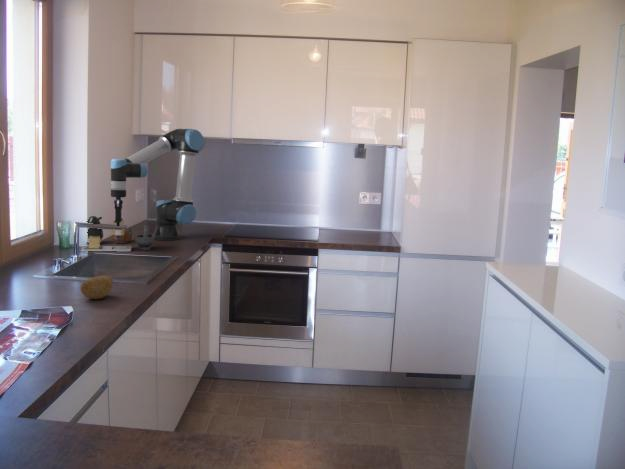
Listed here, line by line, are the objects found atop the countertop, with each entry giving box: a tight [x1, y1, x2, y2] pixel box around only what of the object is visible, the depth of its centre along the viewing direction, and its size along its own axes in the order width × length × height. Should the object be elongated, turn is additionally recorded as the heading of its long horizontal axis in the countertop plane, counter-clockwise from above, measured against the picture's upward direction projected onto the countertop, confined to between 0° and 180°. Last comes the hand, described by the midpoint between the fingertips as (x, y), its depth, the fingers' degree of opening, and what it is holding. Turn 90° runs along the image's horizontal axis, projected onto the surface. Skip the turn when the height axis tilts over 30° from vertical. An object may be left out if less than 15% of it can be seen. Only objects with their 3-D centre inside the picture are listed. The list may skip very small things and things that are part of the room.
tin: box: [113, 227, 133, 245], centre depth 311 cm, size 15×3×8 cm, turn 168°
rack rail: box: [80, 245, 132, 253], centre depth 289 cm, size 24×9×1 cm, turn 106°
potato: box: [80, 274, 114, 300], centre depth 202 cm, size 10×14×8 cm
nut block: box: [112, 219, 125, 236], centre depth 288 cm, size 5×5×7 cm
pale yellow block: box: [88, 236, 101, 249], centre depth 286 cm, size 5×5×7 cm
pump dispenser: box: [86, 215, 104, 243], centre depth 303 cm, size 10×10×15 cm
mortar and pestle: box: [134, 225, 155, 251], centre depth 296 cm, size 11×9×12 cm
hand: (118, 233), depth 289 cm, fingers closed on nut block, 5 cm apart
